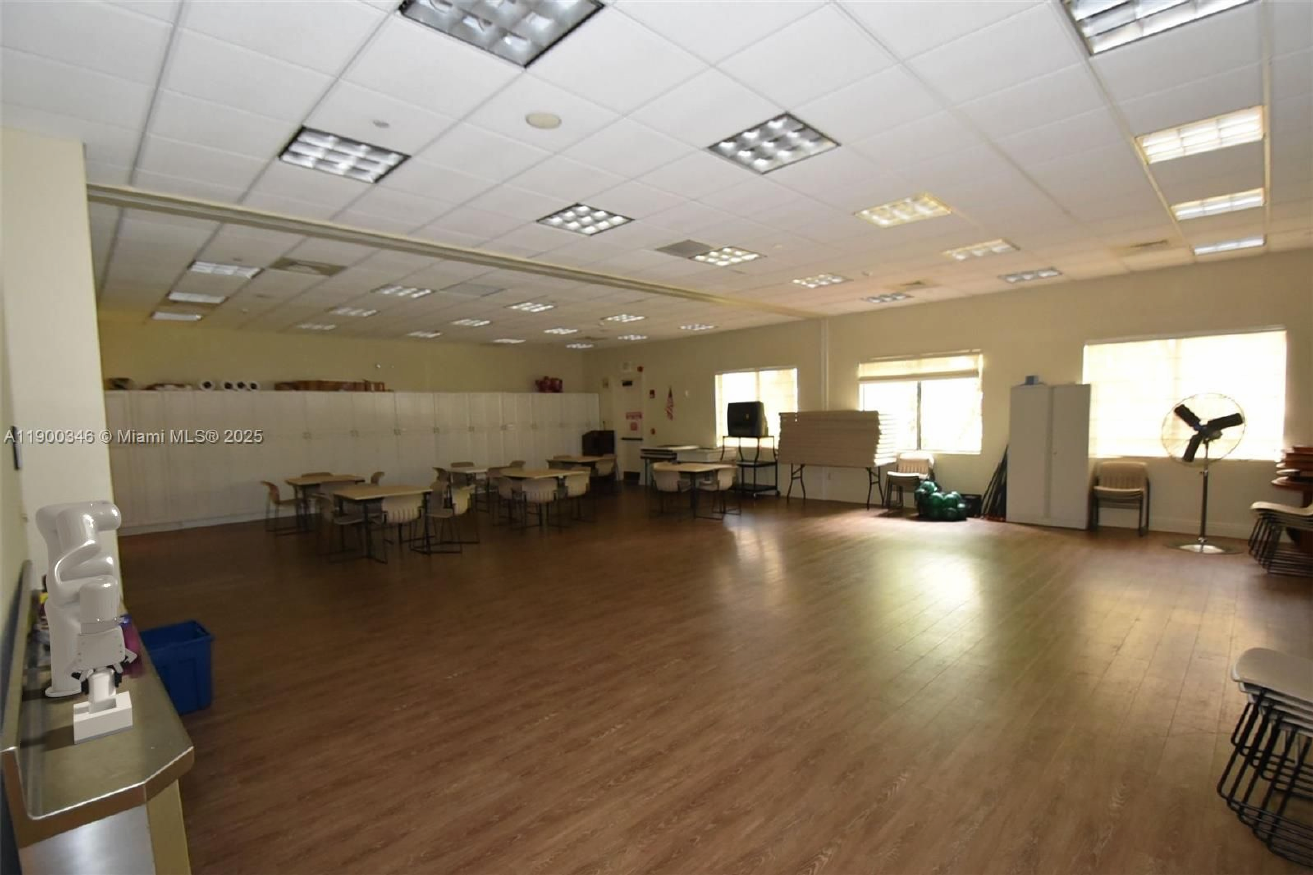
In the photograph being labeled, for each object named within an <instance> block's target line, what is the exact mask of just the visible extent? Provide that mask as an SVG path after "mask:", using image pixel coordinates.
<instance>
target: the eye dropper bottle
mask: <svg viewBox="0 0 1313 875" xmlns="http://www.w3.org/2000/svg"><path fill="white" fill-rule="evenodd" d="M115 671H116V670H114V669H113V668H109V667H108V666H105V667H100V668H95V669H94V671H93V673H92V674H91V675H89V677H88V694H87V697H88V699H87V701H89V703H91V704H97V703H100V702H103V701H106V700H108V699H111V698H113V697H114V696H115V695H116V694H117V691H116V690H117V688H116V687H115Z"/></svg>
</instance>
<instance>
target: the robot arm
mask: <svg viewBox="0 0 1313 875" xmlns="http://www.w3.org/2000/svg"><path fill="white" fill-rule="evenodd" d="M120 511H121V510H120V509H119V507H118V506H117V505H116V504H115V503H113V502H111V501H109V500H106V499H105V500H104V499H103V500H89V501H78V502H77V501H76V502H66V503H56V504H49V505H45V506H42V507H40V508H38V509H37V510H36V512H35V515H34V516H35V524H36V527H37V529H38V532H39V533H40V535H41V536H42V538H43V540H44V541H45V544H46V547H47V562H48V570H47V572H46V576H45V584H46V585H45V586H46V591H47V596H48V598H46V599H45V600H46V601H45V602H44V605H43V606H44V613H45V617H46V621H47V625H48V631H49V646H50V664H51V665H50V669H51V686H50V687H47V688H46V690H45V696H47V697H49V698H50V697H51V698H58V697H65V696H66V697H67V696H71V695H75V694H79V693H84V696H88V677H89V675H91V674H92V673H93V672H94V670H95V668H100V667H105V666H107V667H108V666H113V667H114V669H115V670H114V671H115V687H116V689H119V688H120V684H122V683H123V676H122V675H123V673H122V672H124V670H125V669H126V668H127V667H128V666H129V665H130V664H131V663H132V662H134V660H135V659H137V657H138V655H137V654H136V653H135V652H133V651H131V650H130V649H128V648H126V646H125V636H124V631H123V629H122V627H121V626H122V625H119V624H121V623H124V622H125V617H124V616H123V617H119V616H118V608H119V606H120V602H121V600H120V599H121V598H120V597H121V596H120V594H121V593H120V583H119V582H120V581H119V568H118V562H117V558H116V556H115V554H114V553H112V552H109V551H101V550H102V548H103V546H102V541H101V538H100V533H101V532H109V531H116V530H117V529H119V528H120V527H121V524H122V513H121V512H120ZM126 657H127V658H126ZM125 658H126V659H125Z"/></svg>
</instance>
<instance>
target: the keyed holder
mask: <svg viewBox="0 0 1313 875" xmlns="http://www.w3.org/2000/svg"><path fill="white" fill-rule="evenodd" d="M132 728H134V726H133V706H132V700H131V695H130V691H129V690H127V691H124V692H120V693H116V695H115V696H114V697H113V698H111V699H108V700H106V701H103V702H100V703H97V704H91V703H89V701H88V700H87V701H84V702H83V701H82V702H80V703H75V704H73V738H74V742H73V743H74V745H75V744H76V745H79V744H82V743H85V742H90V741H94V740H97V739H100V738H103V737H107V736H111V735H114V734H118V732H119V733H121V732H125V731H129V730H133V729H132Z"/></svg>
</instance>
